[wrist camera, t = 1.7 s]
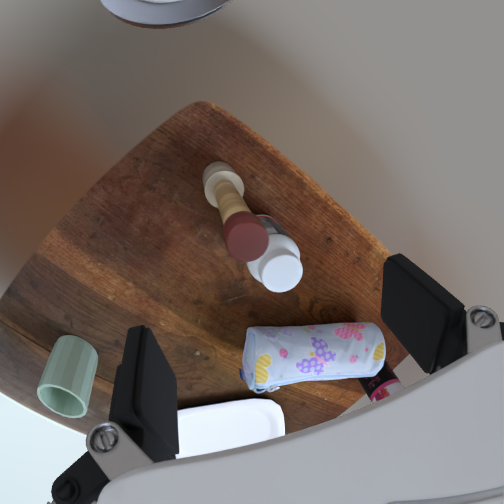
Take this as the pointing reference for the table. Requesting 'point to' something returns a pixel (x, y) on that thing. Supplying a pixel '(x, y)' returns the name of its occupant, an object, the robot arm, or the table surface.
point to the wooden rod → (234, 213)
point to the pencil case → (311, 354)
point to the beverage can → (381, 384)
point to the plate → (228, 425)
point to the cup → (68, 377)
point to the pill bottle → (277, 259)
